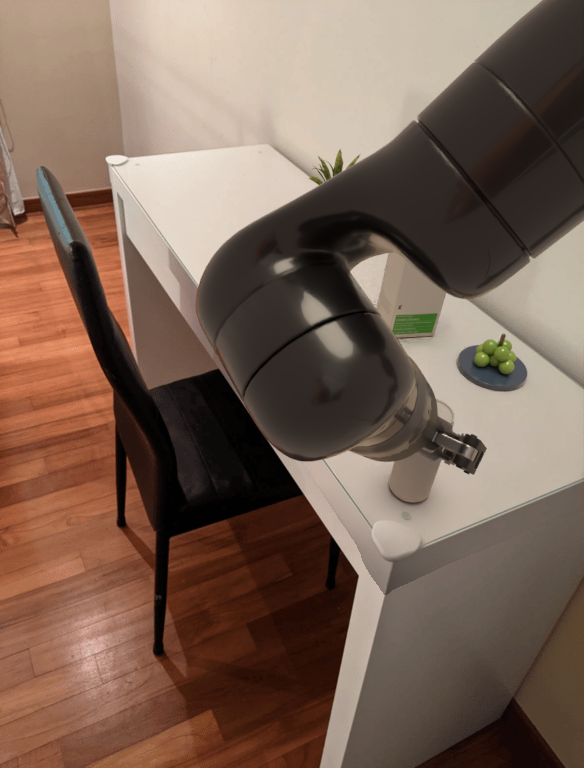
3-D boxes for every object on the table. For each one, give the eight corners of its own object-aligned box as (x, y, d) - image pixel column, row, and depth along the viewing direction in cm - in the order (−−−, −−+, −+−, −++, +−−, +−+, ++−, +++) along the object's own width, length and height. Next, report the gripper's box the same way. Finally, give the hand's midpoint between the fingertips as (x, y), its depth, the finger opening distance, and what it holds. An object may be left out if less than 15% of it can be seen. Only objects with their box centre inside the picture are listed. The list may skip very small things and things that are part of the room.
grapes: (540, 381, 88) (555, 346, 84) (487, 397, 85) (501, 361, 81) (494, 343, 95) (506, 309, 91) (443, 356, 91) (454, 321, 87)
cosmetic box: (386, 339, 93) (407, 246, 84) (372, 316, 98) (390, 225, 88) (436, 336, 95) (462, 244, 85) (420, 313, 100) (443, 224, 90)
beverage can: (413, 468, 73) (437, 392, 65) (438, 497, 70) (465, 420, 62) (380, 480, 71) (400, 402, 63) (403, 510, 68) (427, 432, 60)
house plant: (337, 262, 111) (351, 174, 101) (279, 236, 117) (286, 150, 107) (379, 238, 120) (395, 155, 110) (323, 216, 127) (333, 135, 116)
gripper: (498, 396, 39) (501, 428, 54) (312, 316, 45) (361, 365, 60) (447, 500, 39) (464, 504, 54) (266, 408, 45) (327, 434, 60)
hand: (410, 431), depth 57 cm, fingers open, 8 cm apart
